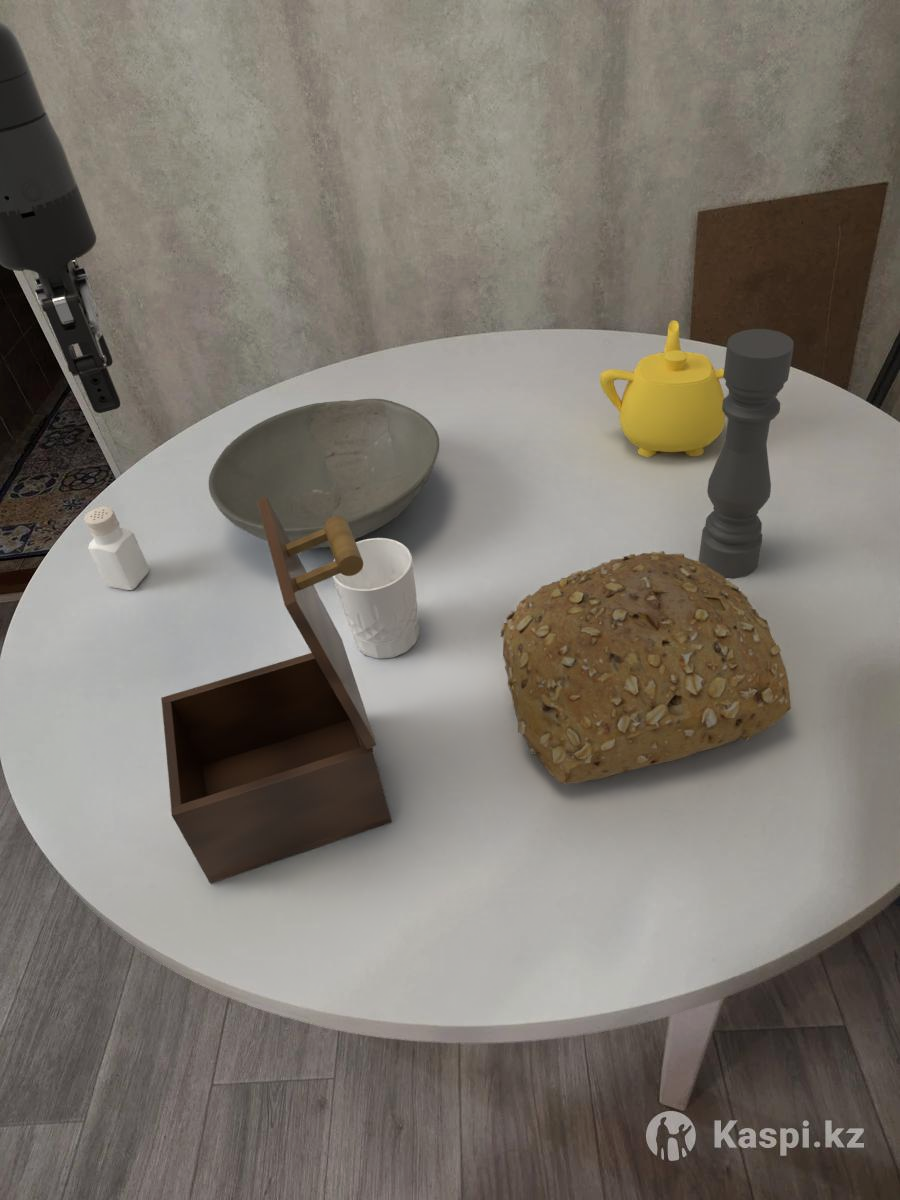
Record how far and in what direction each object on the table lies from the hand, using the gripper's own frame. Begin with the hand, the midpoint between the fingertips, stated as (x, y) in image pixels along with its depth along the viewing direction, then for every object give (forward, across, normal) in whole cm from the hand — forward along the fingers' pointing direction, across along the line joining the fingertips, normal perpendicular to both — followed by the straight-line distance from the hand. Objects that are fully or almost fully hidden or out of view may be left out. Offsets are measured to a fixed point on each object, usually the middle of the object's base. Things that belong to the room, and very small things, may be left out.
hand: (105, 387), depth 75 cm
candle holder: (+29, +16, +55) cm, 64 cm away
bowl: (+29, -13, +19) cm, 37 cm away
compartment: (+29, +26, +4) cm, 39 cm away
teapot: (+29, -9, +63) cm, 70 cm away
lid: (+11, +26, +10) cm, 30 cm away
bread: (+29, +28, +36) cm, 54 cm away
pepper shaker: (+29, -12, -7) cm, 33 cm away
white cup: (+29, +11, +18) cm, 36 cm away
